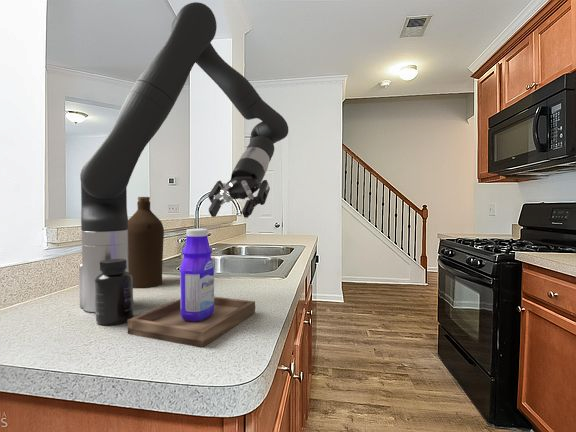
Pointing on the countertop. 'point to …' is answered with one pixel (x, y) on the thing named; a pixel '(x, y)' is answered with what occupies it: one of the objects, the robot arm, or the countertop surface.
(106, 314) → the supplement bottle
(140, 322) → the walnut tray
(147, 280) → the olive oil
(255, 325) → the countertop surface
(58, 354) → the countertop surface
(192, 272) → the bottle
